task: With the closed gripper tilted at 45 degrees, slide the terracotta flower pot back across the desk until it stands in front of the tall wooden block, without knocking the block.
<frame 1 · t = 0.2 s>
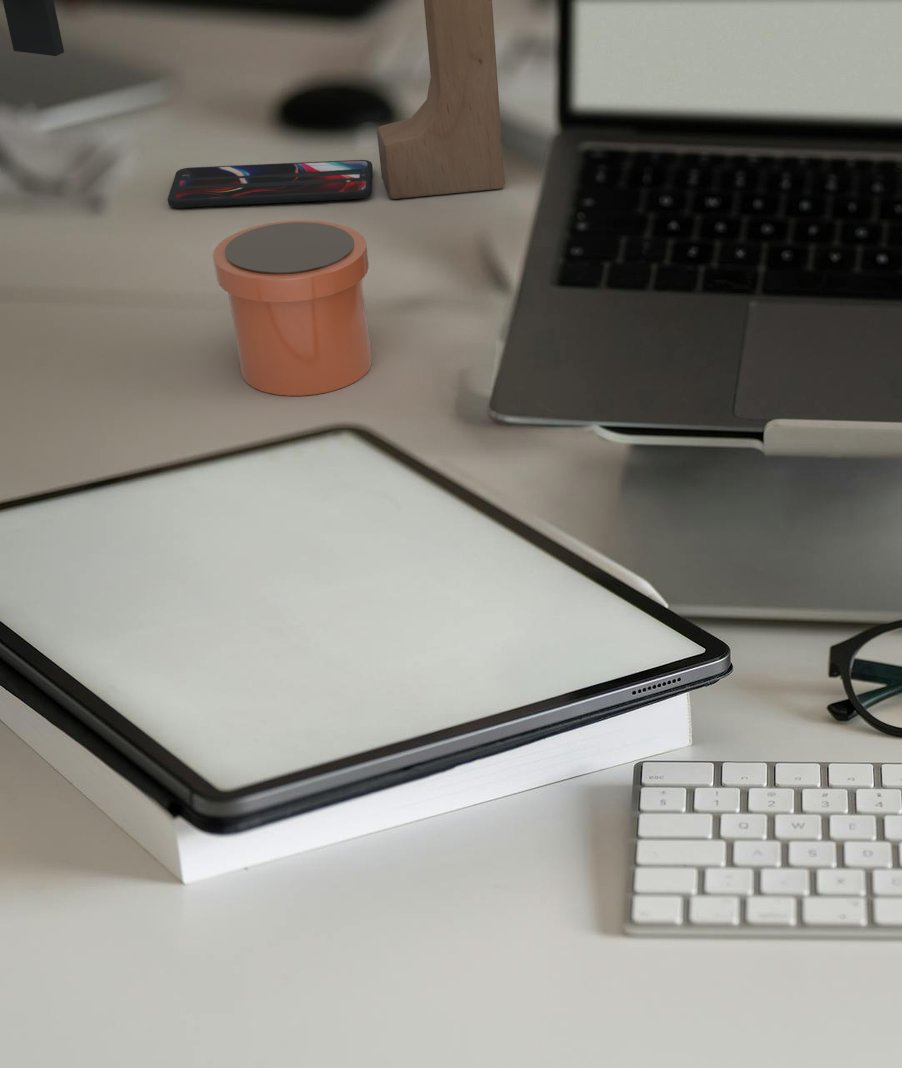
hand: (110, 19, 101), 20 cm above the table, tool pointing down, fingers open, 13 cm apart
wooden block: (443, 187, 134), on the table
flower pot: (307, 366, 107), on the table
smartphone: (273, 189, 132), on the table
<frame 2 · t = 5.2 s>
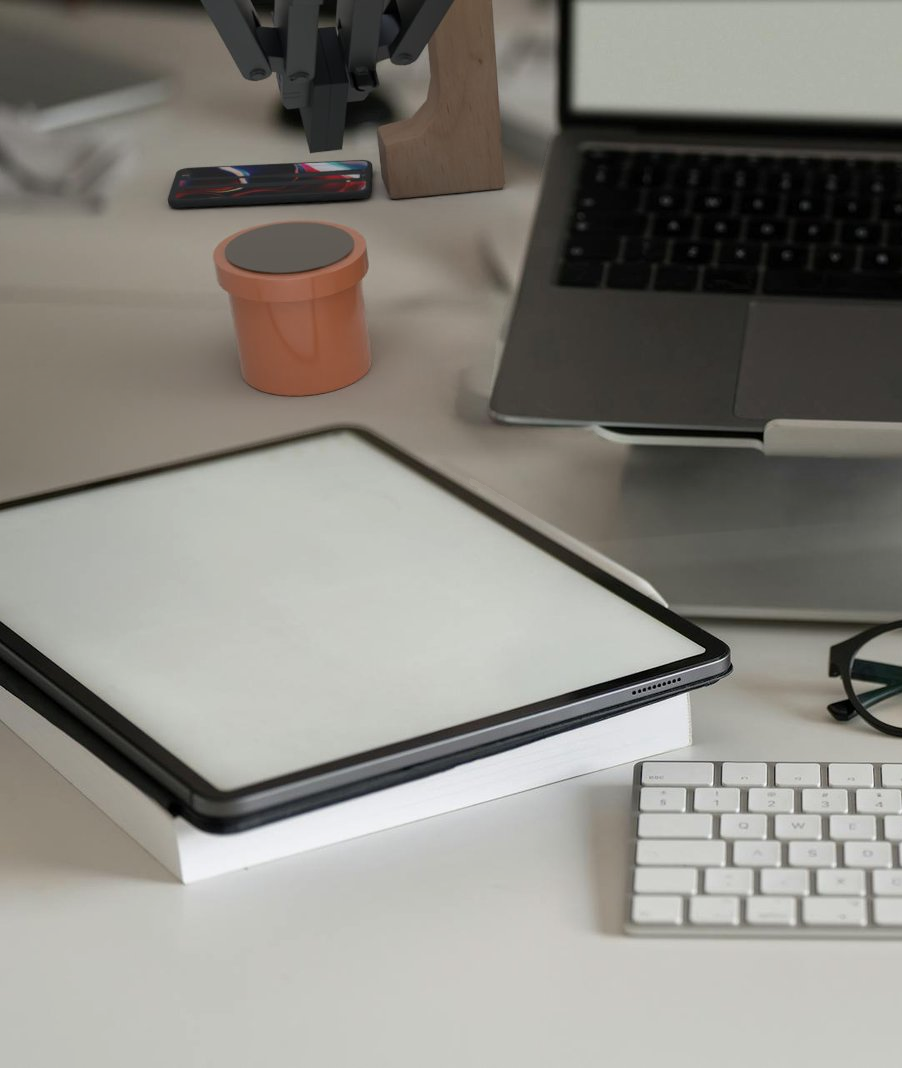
hand: (319, 124, 80), 22 cm above the table, tool tilted 45°, fingers closed
nothing on the table moved.
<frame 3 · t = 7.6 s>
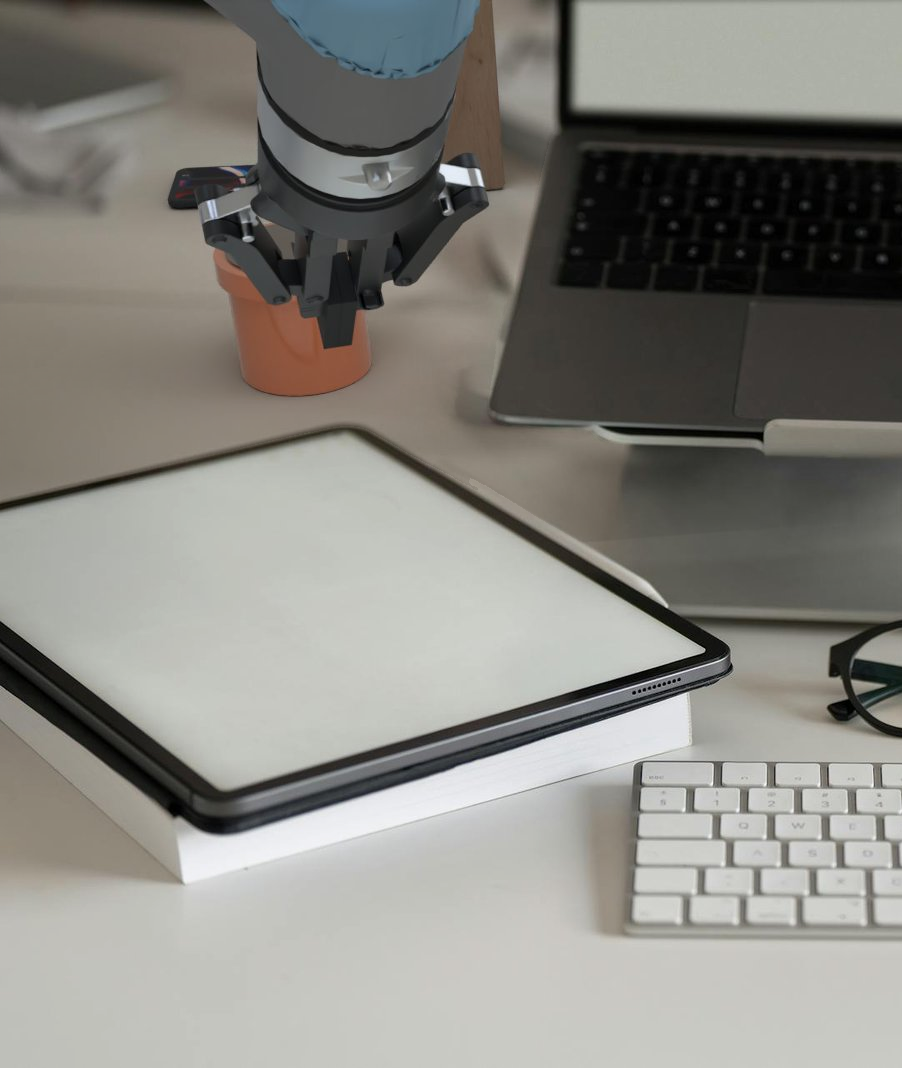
hand: (332, 323, 91), 9 cm above the table, tool tilted 45°, fingers closed
nothing on the table moved.
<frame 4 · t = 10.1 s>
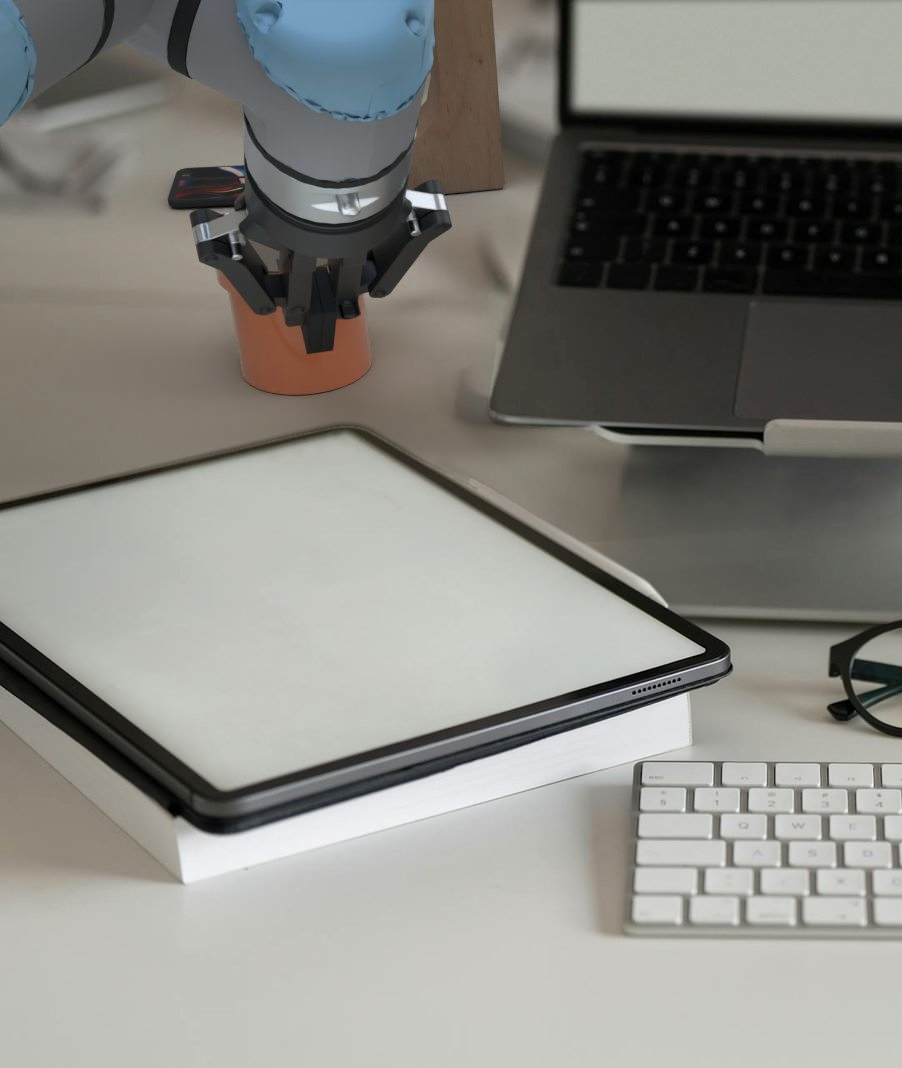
hand: (315, 331, 101), 5 cm above the table, tool tilted 45°, fingers closed
flower pot: (307, 365, 107), on the table, touching gripper
everything else where it was.
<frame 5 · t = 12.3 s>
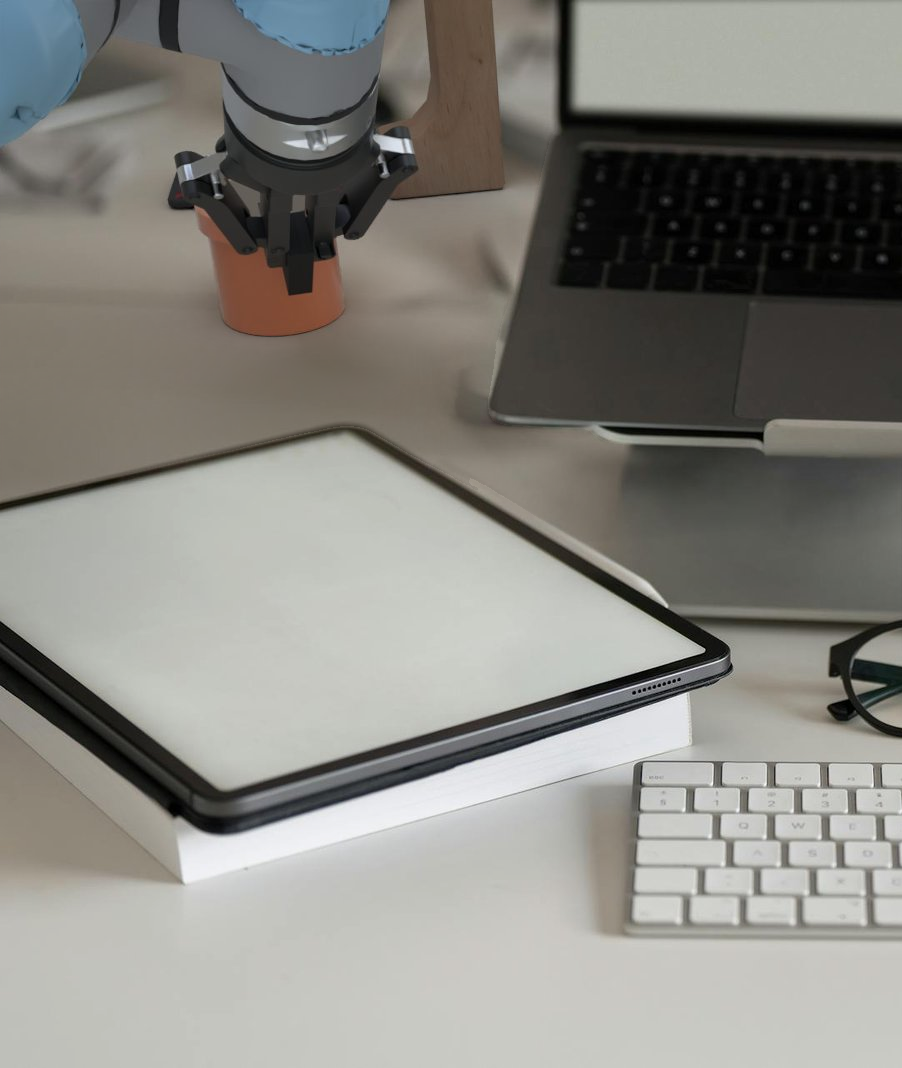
hand: (296, 274, 108), 5 cm above the table, tool tilted 45°, fingers closed
flower pot: (283, 309, 114), on the table, touching gripper
everything else where it was.
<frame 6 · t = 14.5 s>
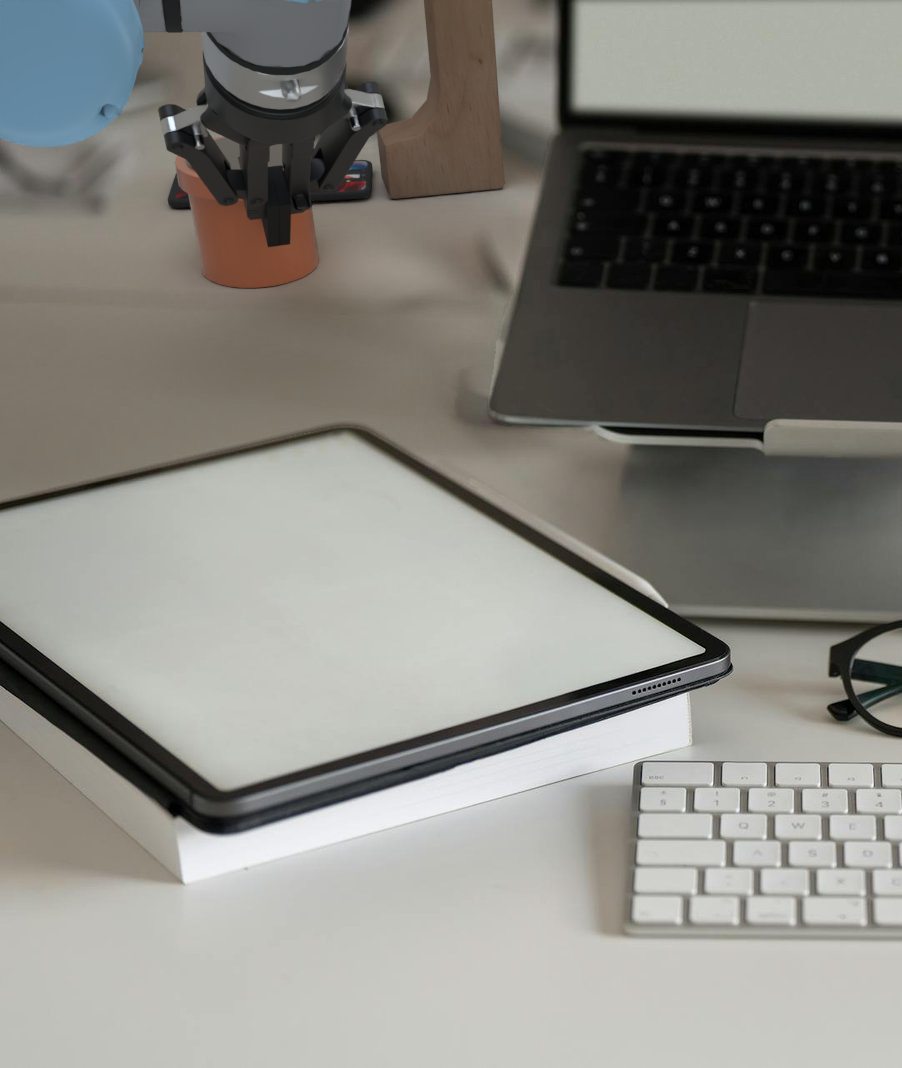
hand: (274, 227, 114), 5 cm above the table, tool tilted 45°, fingers closed
flower pot: (260, 264, 120), on the table, touching gripper
everything else where it was.
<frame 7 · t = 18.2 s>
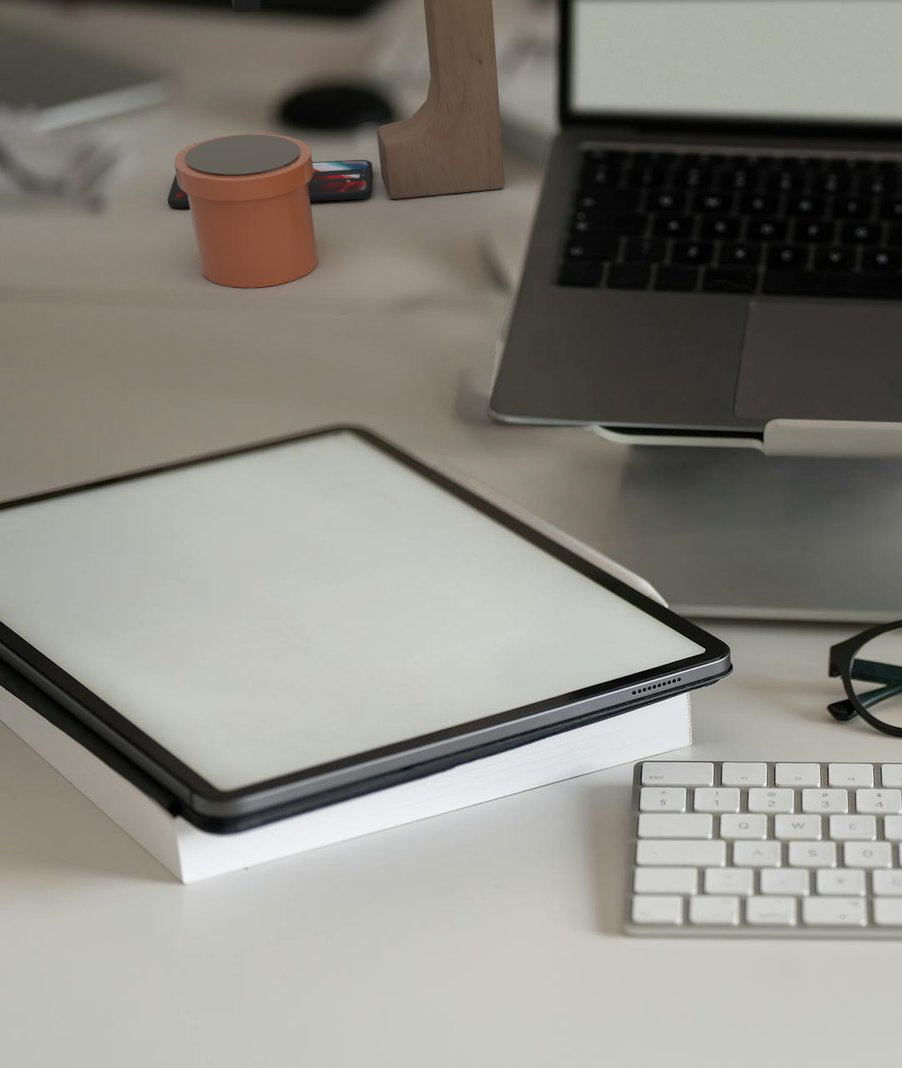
flower pot: (260, 264, 120), on the table
everything else where it was.
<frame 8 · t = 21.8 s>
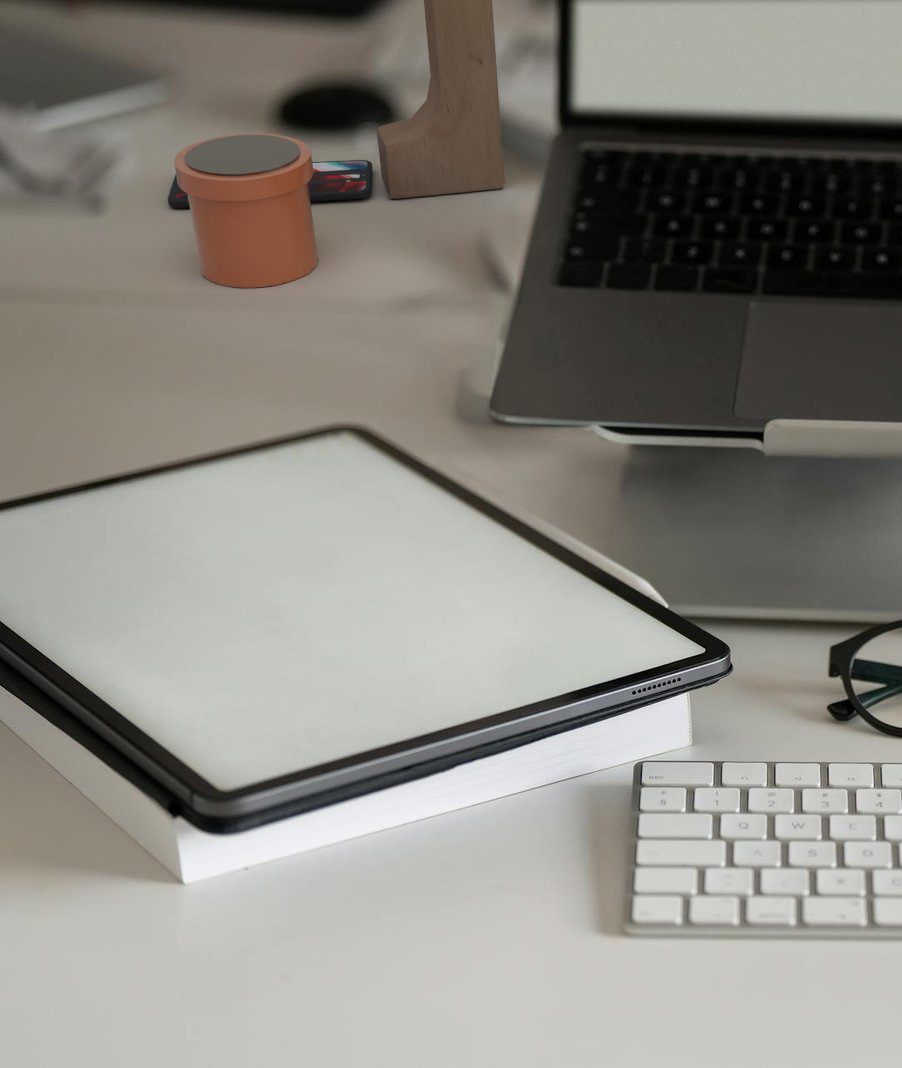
nothing on the table moved.
at the end: flower pot 18.9 cm from the wooden block (horizontally); flower pot moved 16.9 cm from its start; flower pot tilted 0° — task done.
